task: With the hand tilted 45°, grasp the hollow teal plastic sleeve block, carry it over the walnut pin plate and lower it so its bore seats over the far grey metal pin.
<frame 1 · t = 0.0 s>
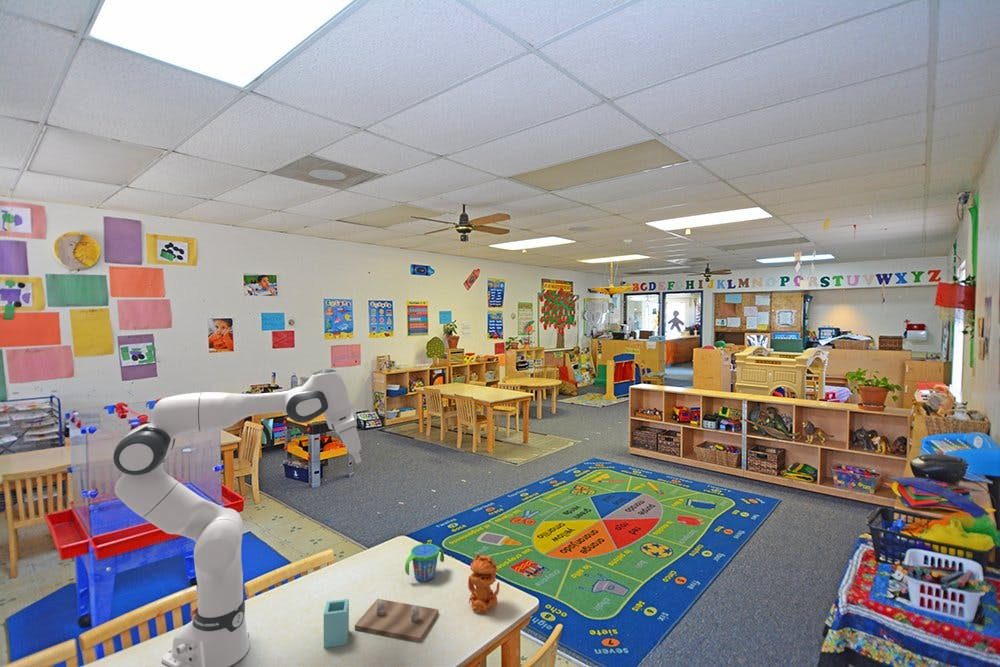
hand: (356, 458, 147), 52 cm above the table, tool tilted 20°, fingers open, 8 cm apart
sleeve block: (336, 639, 139), on the table
snack cup: (425, 577, 173), on the table
orange animal figurine: (482, 608, 154), on the table
pin plate: (397, 621, 147), on the table
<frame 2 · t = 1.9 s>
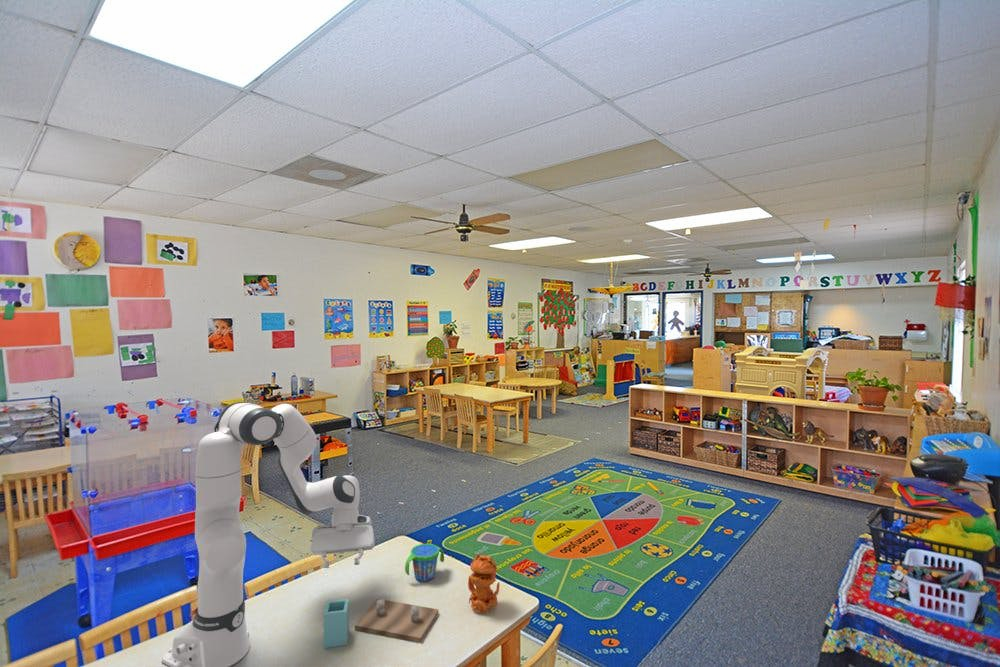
hand: (341, 566, 150), 16 cm above the table, tool tilted 45°, fingers open, 8 cm apart
nothing on the table moved.
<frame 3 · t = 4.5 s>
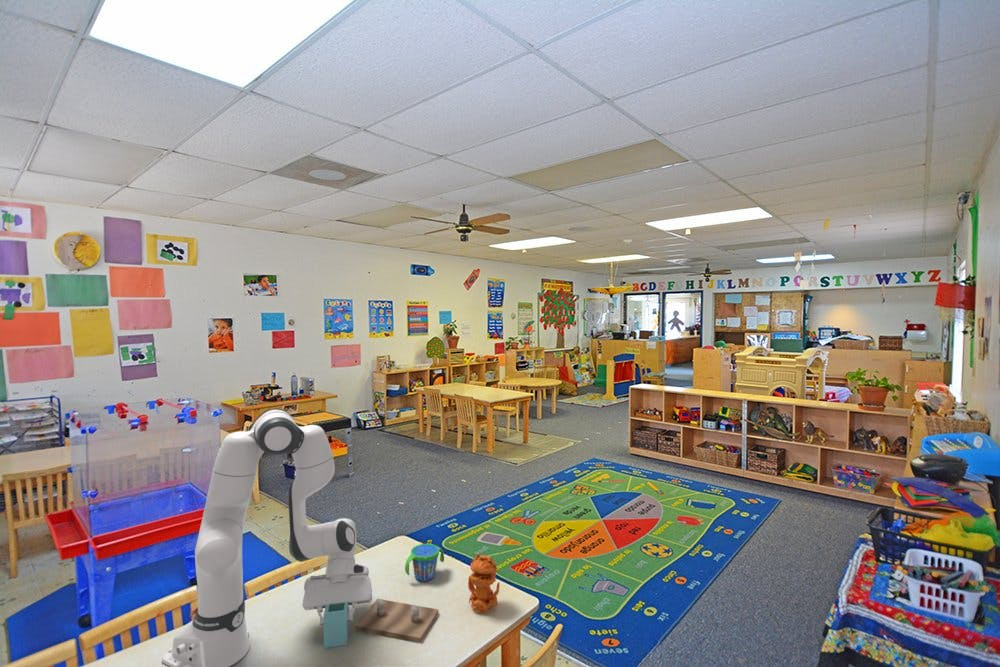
hand: (336, 622, 138), 5 cm above the table, tool tilted 45°, fingers closed on sleeve block, 6 cm apart
sleeve block: (336, 639, 139), on the table, touching gripper
everything else where it was.
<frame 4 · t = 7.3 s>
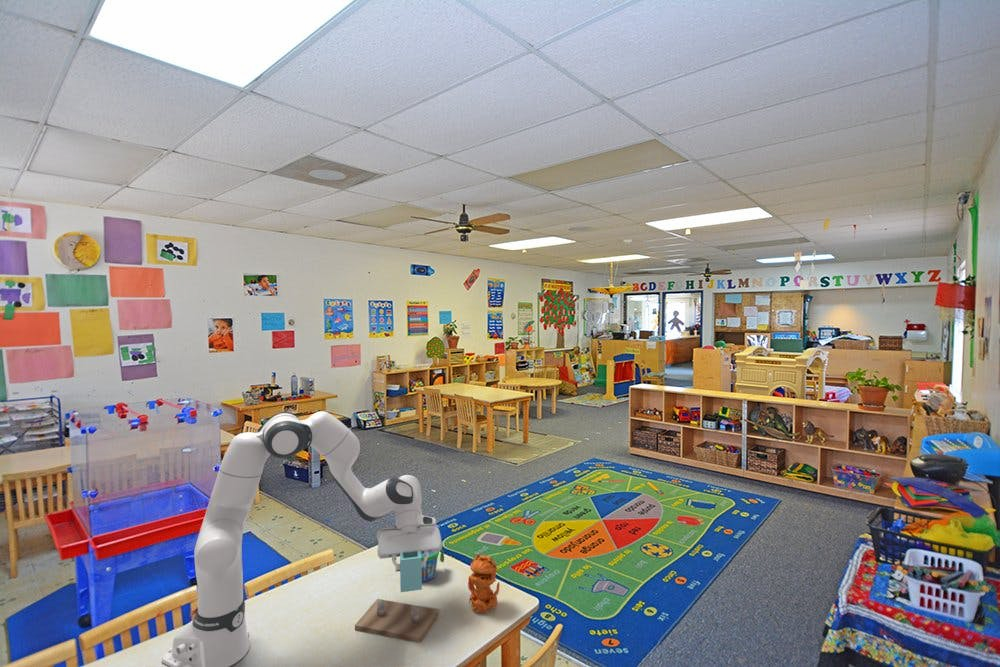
hand: (410, 569, 144), 18 cm above the table, tool tilted 45°, fingers closed on sleeve block, 6 cm apart
sleeve block: (410, 585, 145), point 13 cm above the table, touching gripper
everything else where it was.
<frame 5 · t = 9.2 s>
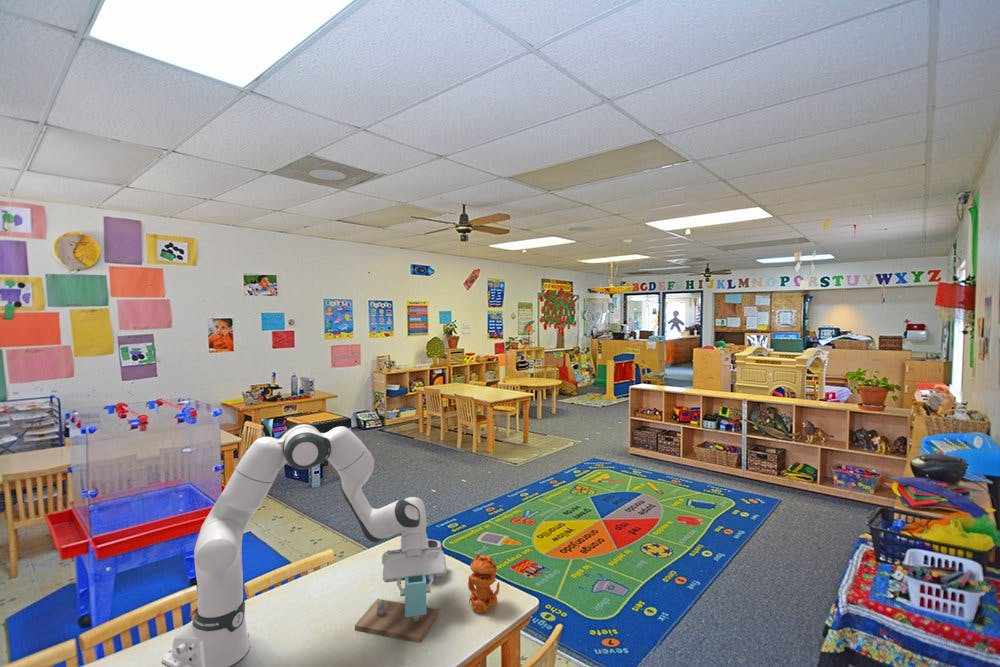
hand: (415, 593, 144), 10 cm above the table, tool tilted 45°, fingers closed on sleeve block, 6 cm apart
sleeve block: (415, 609, 145), point 5 cm above the table, touching gripper
everything else where it was.
when the fingers open (7 cm above the table, at t = 10.5 s): sleeve block stays where it is, resting on pin plate.
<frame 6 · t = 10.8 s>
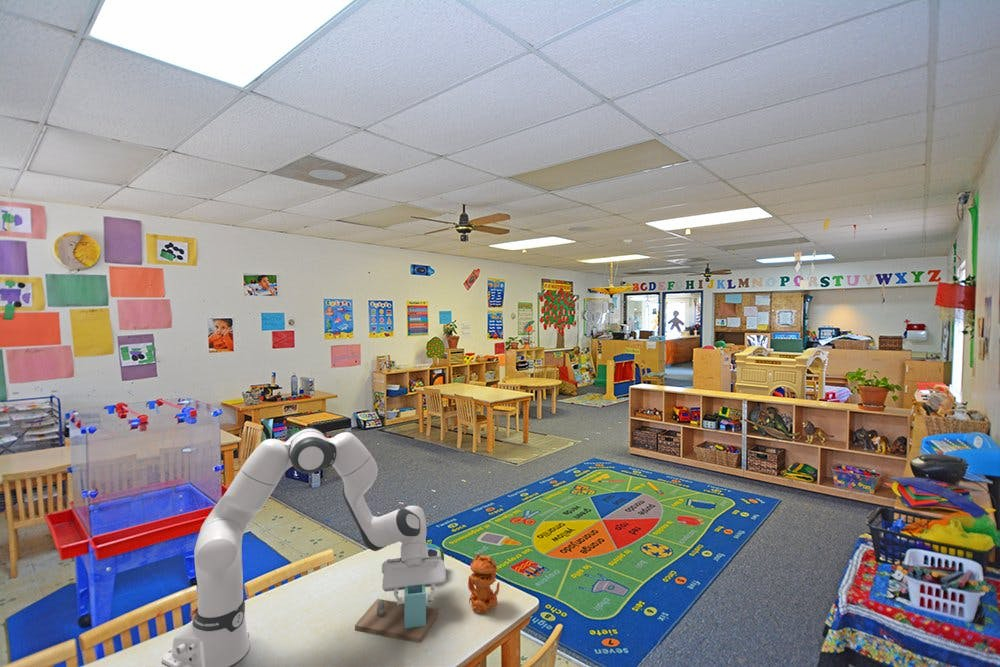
hand: (415, 603, 144), 7 cm above the table, tool tilted 45°, fingers open, 8 cm apart
sleeve block: (414, 620, 145), point 1 cm above the table, touching pin plate
everything else where it was.
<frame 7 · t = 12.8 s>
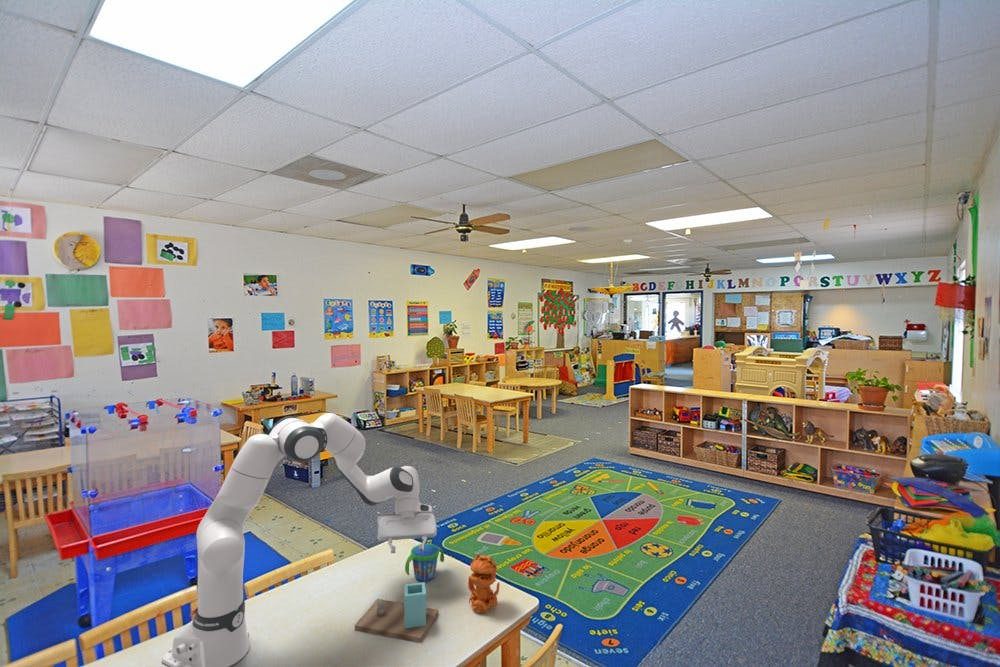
hand: (407, 551, 156), 17 cm above the table, tool tilted 45°, fingers open, 8 cm apart
nothing on the table moved.
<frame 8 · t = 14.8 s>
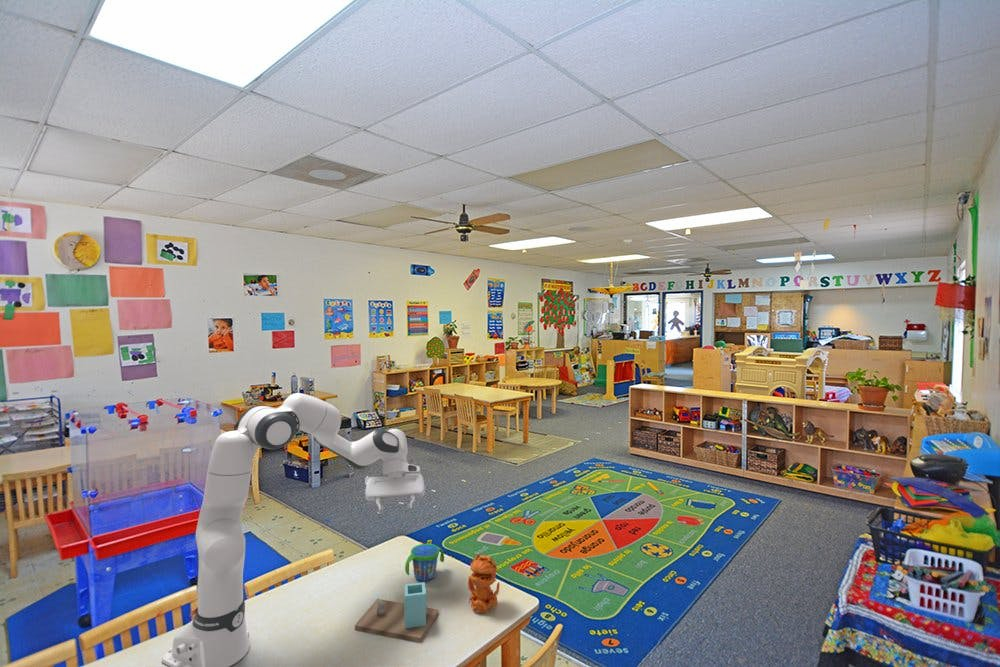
hand: (395, 510, 156), 31 cm above the table, tool tilted 45°, fingers open, 8 cm apart
nothing on the table moved.
at the end: sleeve block 0.1 cm from the target spot on the pin plate, point 1.5 cm above the pin plate's base; sleeve block tilted 0°; the gripper is holding nothing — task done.
